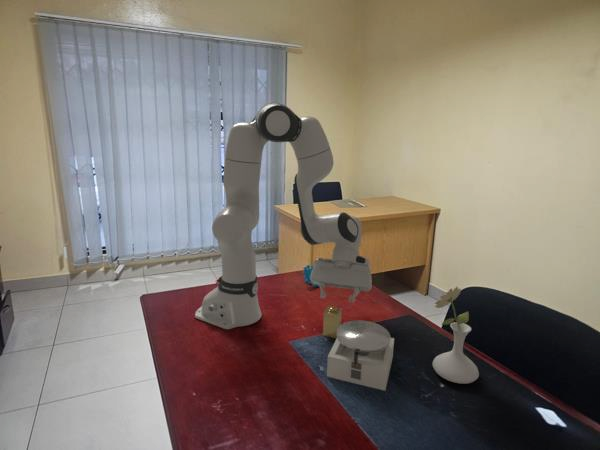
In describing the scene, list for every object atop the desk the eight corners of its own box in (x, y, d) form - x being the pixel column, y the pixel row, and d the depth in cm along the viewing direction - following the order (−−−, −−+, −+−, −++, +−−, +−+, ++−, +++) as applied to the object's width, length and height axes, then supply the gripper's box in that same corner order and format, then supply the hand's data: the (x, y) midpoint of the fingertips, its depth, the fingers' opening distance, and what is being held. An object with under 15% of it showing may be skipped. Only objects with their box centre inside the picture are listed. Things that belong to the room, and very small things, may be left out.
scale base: (326, 377, 97) (327, 357, 95) (341, 346, 111) (341, 328, 109) (385, 391, 92) (386, 370, 90) (392, 357, 106) (394, 338, 104)
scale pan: (327, 365, 95) (328, 345, 93) (343, 333, 109) (343, 316, 108) (383, 378, 90) (385, 358, 89) (391, 343, 104) (393, 325, 103)
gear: (311, 287, 147) (300, 265, 151) (302, 294, 151) (292, 272, 155) (329, 283, 155) (318, 262, 159) (320, 289, 159) (310, 269, 163)
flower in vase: (461, 359, 105) (473, 276, 99) (487, 385, 95) (502, 294, 88) (418, 363, 103) (427, 279, 97) (440, 391, 92) (451, 298, 86)
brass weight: (323, 335, 117) (323, 309, 114) (327, 328, 121) (327, 303, 118) (337, 338, 115) (338, 312, 113) (340, 331, 119) (341, 305, 117)
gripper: (313, 253, 127) (304, 291, 121) (373, 260, 121) (367, 300, 115) (316, 261, 133) (307, 298, 126) (374, 268, 127) (368, 307, 120)
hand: (336, 299), depth 120 cm, fingers open, 8 cm apart
